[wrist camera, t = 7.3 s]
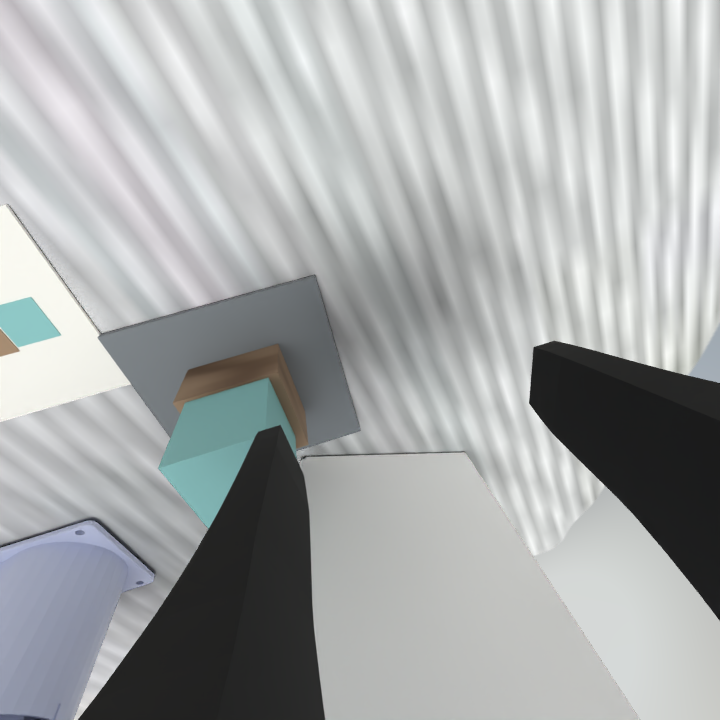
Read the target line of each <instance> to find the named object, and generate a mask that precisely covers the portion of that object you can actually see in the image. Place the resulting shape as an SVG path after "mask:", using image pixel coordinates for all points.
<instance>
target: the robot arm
mask: <svg viewBox="0 0 720 720" xmlns="http://www.w3.org/2000/svg"><path fill="white" fill-rule="evenodd" d="M529 404H530V405H531V406H532V408H533V409H534V410H535V412H536V413H537V415H538V416H539V417H540V419H541V420H542V421H543V422H544V424H545V425H546V426H547V427H548V428H549V430H550V431H551V432H552V433H553V434H554V435H555V436H556V437H557V438H558V439H559V440H560V441H561V442H562V443H563V444H564V445H565V446H566V447H567V448H568V449H569V450H570V451H571V452H572V453H573V454H574V455H575V456H576V457H577V458H578V459H579V460H580V461H581V462H582V463H583V464H584V465H585V466H586V467H587V468H588V469H589V470H590V471H591V472H592V473H593V474H594V475H595V476H596V477H597V478H598V479H599V480H600V481H601V482H602V483H603V484H604V485H605V486H606V487H607V488H608V489H609V490H610V491H612V493H613V494H614V495H615V496H617V498H618V499H619V500H620V501H621V502H622V503H623V504H624V505H625V506H626V507H627V508H628V509H629V510H630V511H631V512H632V513H633V514H634V516H635V517H636V518H637V519H638V520H639V521H640V523H641V524H642V525H643V526H644V527H645V528H646V530H647V531H648V532H649V533H650V534H651V536H652V537H653V538H654V539H655V540H656V541H657V542H658V544H659V545H660V546H661V547H662V548H663V550H664V551H665V552H666V553H667V554H668V555H669V557H670V558H671V559H672V560H673V562H674V563H675V564H676V566H677V567H678V568H679V569H680V571H681V572H682V573H683V574H684V575H685V577H686V578H687V579H688V580H689V582H690V583H691V584H692V585H693V587H694V588H695V589H696V590H697V592H699V594H700V595H701V596H702V598H703V599H704V601H705V602H706V603H707V604H708V606H709V607H710V608H711V610H712V611H713V612H714V614H715V615H716V616H717V618H718V619H719V620H720V383H717V382H713V381H708V380H703V379H700V378H695V377H691V376H687V375H683V374H679V373H675V372H671V371H667V370H663V369H659V368H656V367H652V366H648V365H644V364H641V363H637V362H633V361H630V360H626V359H622V358H619V357H615V356H612V355H608V354H604V353H601V352H597V351H593V350H590V349H586V348H582V347H578V346H574V345H570V344H566V343H562V342H557V341H552V342H549V343H546V344H543V345H539V346H536V347H534V350H533V362H532V375H531V387H530V400H529ZM154 577H155V574H154V573H153V572H152V571H150V570H149V569H148V568H147V567H146V566H145V565H144V564H143V563H142V562H140V561H139V560H138V559H137V558H136V557H135V556H134V555H133V554H132V553H130V552H129V551H128V550H127V549H126V548H125V547H124V546H123V545H122V544H120V543H119V542H118V541H117V540H116V539H115V538H114V537H113V536H112V535H110V534H109V533H108V532H107V531H106V530H105V529H104V528H103V527H102V526H100V525H99V524H98V523H97V522H95V521H91V520H89V521H84V522H81V523H78V524H75V525H72V526H68V527H65V528H62V529H59V530H56V531H52V532H49V533H46V534H43V535H40V536H37V537H33V538H30V539H27V540H24V541H21V542H17V543H14V544H11V545H8V546H5V547H1V548H0V720H74V717H75V715H76V712H77V709H78V707H79V704H80V701H81V699H82V696H83V693H84V691H85V688H86V685H87V683H88V680H89V677H90V675H91V672H92V669H93V667H94V664H95V661H96V659H97V656H98V654H99V651H100V648H101V646H102V643H103V640H104V638H105V635H106V632H107V630H108V627H109V624H110V622H111V619H112V616H113V614H114V611H115V608H116V606H117V603H118V600H119V598H120V595H121V593H122V592H125V591H128V590H131V589H134V588H137V587H140V586H143V585H146V584H149V583H152V582H153V581H154ZM78 720H325V714H324V707H323V699H322V691H321V683H320V675H319V666H318V658H317V649H316V641H315V632H314V621H313V606H312V575H311V542H310V515H309V505H308V498H307V491H306V485H305V478H304V474H303V472H302V470H301V468H300V465H299V463H298V461H297V459H296V457H295V455H294V453H293V450H292V448H291V446H290V444H289V442H288V440H287V438H286V435H285V433H284V431H283V429H282V427H281V425H278V426H275V427H272V428H269V429H265V430H262V431H259V432H258V433H257V434H256V436H255V438H254V440H253V442H252V444H251V446H250V449H249V451H248V453H247V455H246V457H245V459H244V461H243V463H242V466H241V468H240V470H239V472H238V474H237V476H236V478H235V480H234V482H233V484H232V486H231V488H230V490H229V492H228V494H227V496H226V498H225V500H224V502H223V504H222V505H221V507H220V509H219V511H218V513H217V515H216V517H215V518H214V520H213V522H212V524H211V526H210V527H209V529H208V531H207V533H206V534H205V536H204V538H203V540H202V541H201V543H200V545H199V547H198V549H197V550H196V552H195V554H194V555H193V557H192V559H191V560H190V562H189V564H188V565H187V567H186V568H185V570H184V572H183V573H182V575H181V576H180V578H179V580H178V581H177V583H176V584H175V586H174V587H173V589H172V590H171V592H170V593H169V595H168V597H167V598H166V600H165V601H164V603H163V604H162V606H161V607H160V609H159V610H158V612H157V613H156V615H155V616H154V617H153V619H152V620H151V622H150V623H149V625H148V626H147V627H146V629H145V630H144V632H143V633H142V634H141V636H140V637H139V639H138V640H137V641H136V643H135V644H134V645H133V647H132V648H131V650H130V651H129V652H128V654H127V655H126V656H125V658H124V659H123V661H122V662H121V663H120V665H119V666H118V667H117V669H116V670H115V672H114V673H113V674H112V676H111V677H110V678H109V680H108V681H107V683H106V684H105V685H104V687H103V688H102V689H101V691H100V692H99V693H98V695H97V696H96V697H95V699H94V700H93V701H92V702H91V704H90V705H89V706H88V708H87V709H86V710H85V711H84V713H83V714H82V715H81V716H80V718H79V719H78Z"/></svg>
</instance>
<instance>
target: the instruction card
mask: <svg viewBox="0 0 720 720" xmlns="http://www.w3.org/2000/svg"><path fill="white" fill-rule="evenodd" d="M100 334H101V333H100V332H99V331H98V329H97V328H96V327H95V325H94V324H93V322H92V321H91V320H90V318H89V317H88V315H87V314H86V313H85V311H84V310H83V308H82V307H81V306H80V304H79V303H78V301H77V300H76V299H75V297H74V296H73V294H72V293H71V292H70V290H69V289H68V288H67V286H66V285H65V283H64V282H63V281H62V279H61V278H60V276H59V275H58V274H57V272H56V271H55V269H54V268H53V267H52V265H51V264H50V262H49V261H48V260H47V258H46V257H45V256H44V254H43V253H42V251H41V250H40V249H39V247H38V246H37V244H36V243H35V242H34V240H33V239H32V237H31V236H30V235H29V233H28V232H27V230H26V229H25V228H24V226H23V225H22V223H21V222H20V221H19V219H18V218H17V217H16V215H15V214H14V212H13V211H12V210H11V208H10V207H9V205H2V206H0V421H1V422H2V421H5V420H9V419H12V418H16V417H19V416H23V415H26V414H30V413H33V412H37V411H40V410H43V409H47V408H50V407H54V406H57V405H61V404H64V403H68V402H71V401H75V400H78V399H81V398H85V397H88V396H92V395H95V394H99V393H102V392H106V391H109V390H113V389H116V388H120V387H123V386H126V385H130V384H131V383H130V382H129V380H128V379H127V378H126V376H125V375H124V374H123V372H122V371H121V370H120V368H119V367H118V365H117V364H116V363H115V361H114V360H113V359H112V357H111V356H110V354H109V353H108V352H107V350H106V349H105V348H104V346H103V345H102V344H101V342H100V341H99V339H98V338H97V337H98V336H99V335H100Z"/></svg>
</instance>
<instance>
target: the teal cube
mask: <svg viewBox="0 0 720 720" xmlns="http://www.w3.org/2000/svg"><path fill="white" fill-rule="evenodd" d="M278 425H281V427H282V429H283V431H284V433H285V435H286V438H287V440H288V442H289V444H290V446H291V448H292V450H293V453H294V455H295V457H296V459H297V456H296V438H295V435H294V432H293V430H292V428H291V426H290V424H289V421H288V419H287V417H286V415H285V413H284V410H283V408H282V406H281V404H280V402H279V399H278V397H277V395H276V393H275V391H274V388H273V386H272V384H271V382H270V380H269V378H265V379H261V380H258V381H255V382H252V383H248V384H245V385H242V386H238V387H235V388H232V389H228V390H225V391H222V392H219V393H215V394H212V395H209V396H205V397H202V398H199V399H195V400H192V401H189V402H186V403H185V404H184V407H183V409H182V412H181V414H180V416H179V419H178V421H177V424H176V426H175V429H174V431H173V433H172V436H171V438H170V441H169V443H168V446H167V448H166V451H165V453H164V455H163V458H162V460H161V463H160V465H159V468H158V469H159V470H160V471H161V472H162V474H163V475H164V476H165V477H166V478H167V480H168V481H169V482H170V483H171V484H172V486H173V487H174V488H175V489H176V490H177V492H178V493H179V494H180V495H181V496H182V498H183V499H184V500H185V501H186V503H187V504H188V505H189V506H190V507H191V509H192V510H193V511H194V512H195V513H196V515H197V516H198V517H199V518H200V519H201V521H202V522H203V523H204V524H205V525H206V527H207V528H208V529H209V527H210V526H211V524H212V522H213V520H214V518H215V517H216V515H217V513H218V511H219V509H220V507H221V505H222V504H223V502H224V500H225V498H226V496H227V494H228V492H229V490H230V488H231V486H232V484H233V482H234V480H235V478H236V476H237V474H238V472H239V470H240V468H241V466H242V463H243V461H244V459H245V457H246V455H247V453H248V451H249V449H250V446H251V444H252V442H253V440H254V438H255V436H256V434H257V433H258V432H259V431H262V430H265V429H269V428H272V427H275V426H278Z"/></svg>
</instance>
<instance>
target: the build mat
mask: <svg viewBox="0 0 720 720" xmlns="http://www.w3.org/2000/svg"><path fill="white" fill-rule="evenodd" d="M97 338H98V339H99V341H100V342H101V344H102V345H103V346H104V348H105V349H106V350H107V352H108V353H109V354H110V356H111V357H112V359H113V360H114V361H115V363H116V364H117V365H118V367H119V368H120V370H121V371H122V372H123V374H124V375H125V376H126V378H127V379H128V380H129V382H130V383H131V385H132V386H133V387H134V389H135V390H136V391H137V393H138V394H139V396H140V397H141V398H142V400H143V401H144V402H145V404H146V405H147V407H148V408H149V409H150V411H151V412H152V413H153V415H154V416H155V417H156V419H157V420H158V422H159V423H160V424H161V426H162V427H163V428H164V430H165V431H166V433H167V434H168V435H169V437H170V438H171V436H172V433H173V431H174V429H175V426H176V424H177V421H178V419H179V416H180V413H179V412H178V410H177V409H176V407H175V406H174V404H173V401H174V399H175V397H176V395H177V393H178V390H179V388H180V386H181V384H182V382H183V380H184V377H185V375H186V373H187V371H188V370H189V369H192V368H196V367H199V366H203V365H206V364H210V363H213V362H216V361H220V360H223V359H227V358H230V357H234V356H237V355H241V354H244V353H247V352H251V351H254V350H258V349H261V348H265V347H268V346H272V345H275V344H278V345H279V347H280V350H281V352H282V355H283V357H284V360H285V362H286V365H287V367H288V370H289V372H290V375H291V377H292V380H293V382H294V385H295V387H296V390H297V392H298V395H299V397H300V400H301V402H302V405H303V407H304V410H305V415H306V425H307V435H308V445H306V446H303V447H300V448H297V449H296V451H298V450H301V449H304V448H307V447H310V446H314V445H317V444H320V443H323V442H326V441H330V440H333V439H336V438H339V437H342V436H346V435H349V434H352V433H355V432H358V431H360V427H359V424H358V420H357V417H356V413H355V410H354V407H353V403H352V400H351V396H350V393H349V390H348V386H347V383H346V379H345V376H344V373H343V369H342V366H341V362H340V359H339V355H338V352H337V349H336V345H335V342H334V338H333V335H332V332H331V328H330V325H329V321H328V318H327V314H326V311H325V308H324V304H323V301H322V297H321V294H320V291H319V287H318V284H317V280H316V277H315V275H312V276H308V277H305V278H301V279H297V280H294V281H290V282H287V283H283V284H279V285H276V286H272V287H269V288H265V289H261V290H258V291H254V292H251V293H247V294H243V295H240V296H236V297H233V298H229V299H225V300H222V301H218V302H215V303H211V304H207V305H204V306H200V307H196V308H193V309H189V310H186V311H182V312H178V313H175V314H171V315H168V316H164V317H160V318H157V319H153V320H150V321H146V322H142V323H139V324H135V325H132V326H128V327H124V328H121V329H117V330H114V331H110V332H106V333H103V334H100V335H99V336H98V337H97Z"/></svg>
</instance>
